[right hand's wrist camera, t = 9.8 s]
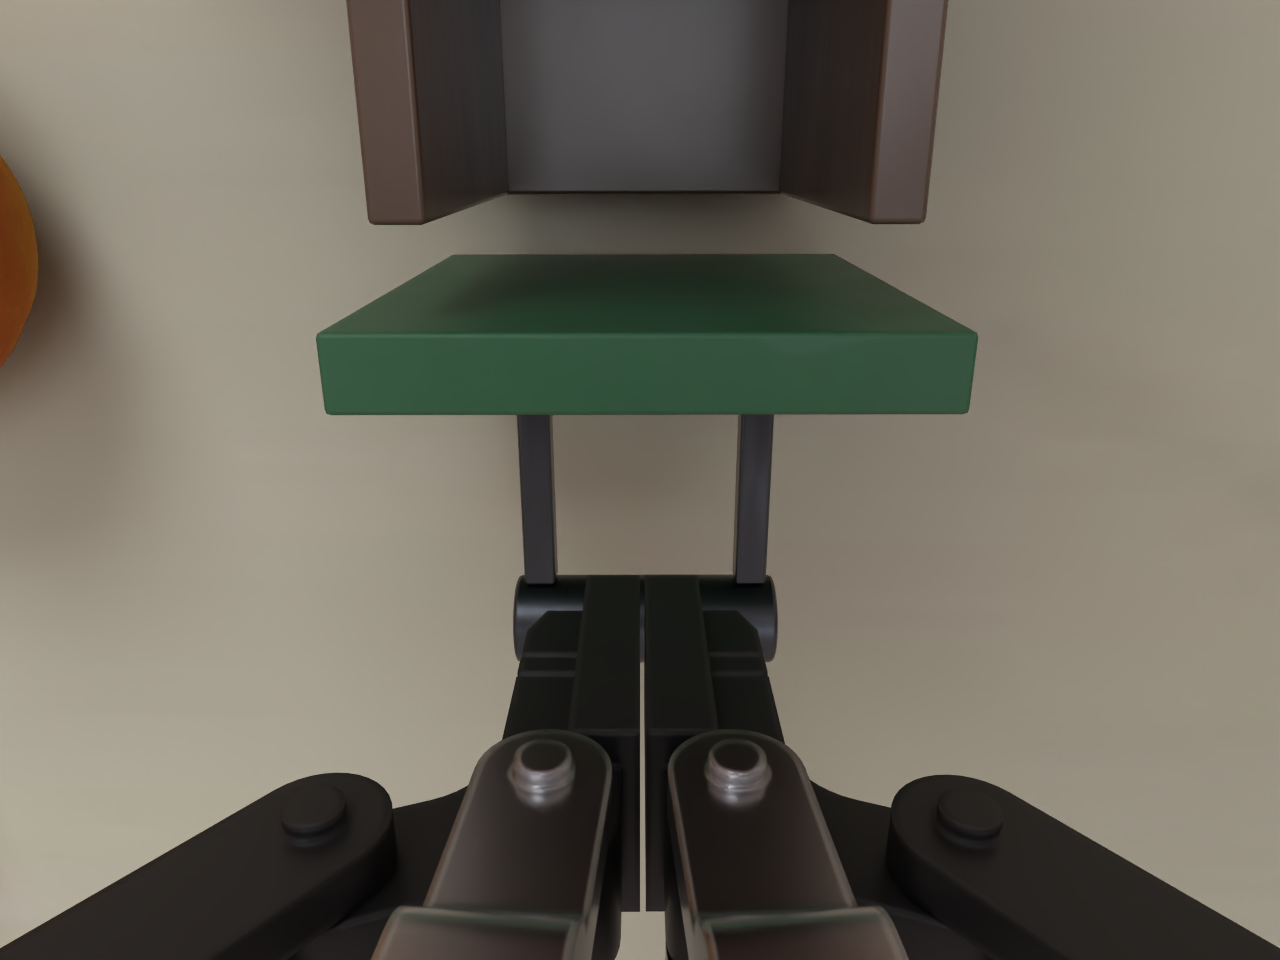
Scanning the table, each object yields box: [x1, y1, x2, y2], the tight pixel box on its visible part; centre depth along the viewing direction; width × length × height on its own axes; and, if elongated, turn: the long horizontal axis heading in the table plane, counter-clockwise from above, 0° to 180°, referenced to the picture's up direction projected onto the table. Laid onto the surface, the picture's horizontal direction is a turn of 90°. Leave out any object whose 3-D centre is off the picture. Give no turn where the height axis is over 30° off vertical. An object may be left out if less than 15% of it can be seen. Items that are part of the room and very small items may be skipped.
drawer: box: [316, 0, 978, 662], centre depth 16 cm, size 23×9×10 cm, turn 0°
